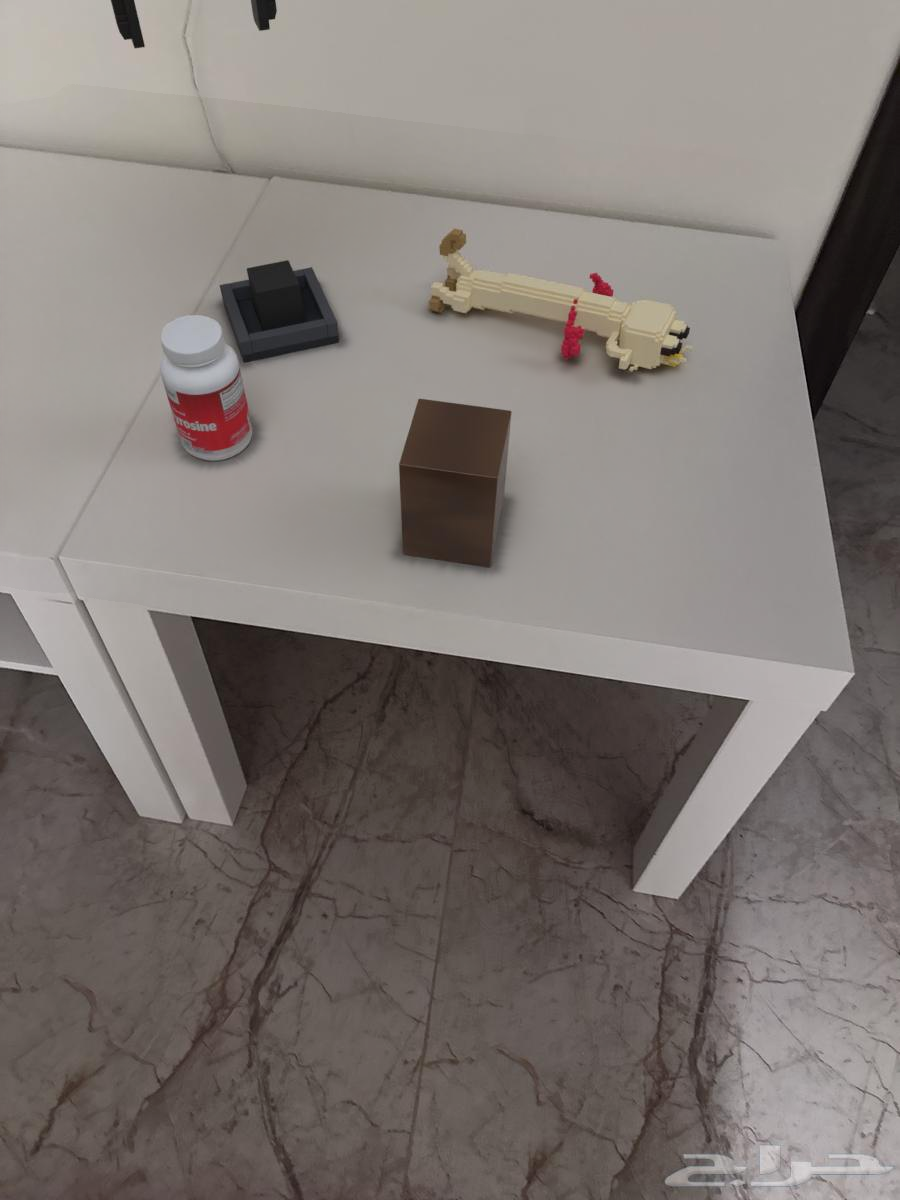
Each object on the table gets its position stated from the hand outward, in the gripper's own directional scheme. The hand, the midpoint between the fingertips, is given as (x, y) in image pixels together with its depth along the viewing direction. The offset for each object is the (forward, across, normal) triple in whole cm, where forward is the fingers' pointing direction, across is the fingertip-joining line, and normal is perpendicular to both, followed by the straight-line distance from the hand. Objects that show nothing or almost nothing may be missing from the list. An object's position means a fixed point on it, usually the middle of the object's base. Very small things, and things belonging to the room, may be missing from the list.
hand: (200, 34), depth 63 cm
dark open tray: (+28, -3, -5) cm, 29 cm away
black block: (+27, -3, -5) cm, 28 cm away
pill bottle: (+28, +6, +9) cm, 30 cm away
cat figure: (+28, -28, +5) cm, 40 cm away
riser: (+28, -10, +25) cm, 39 cm away
